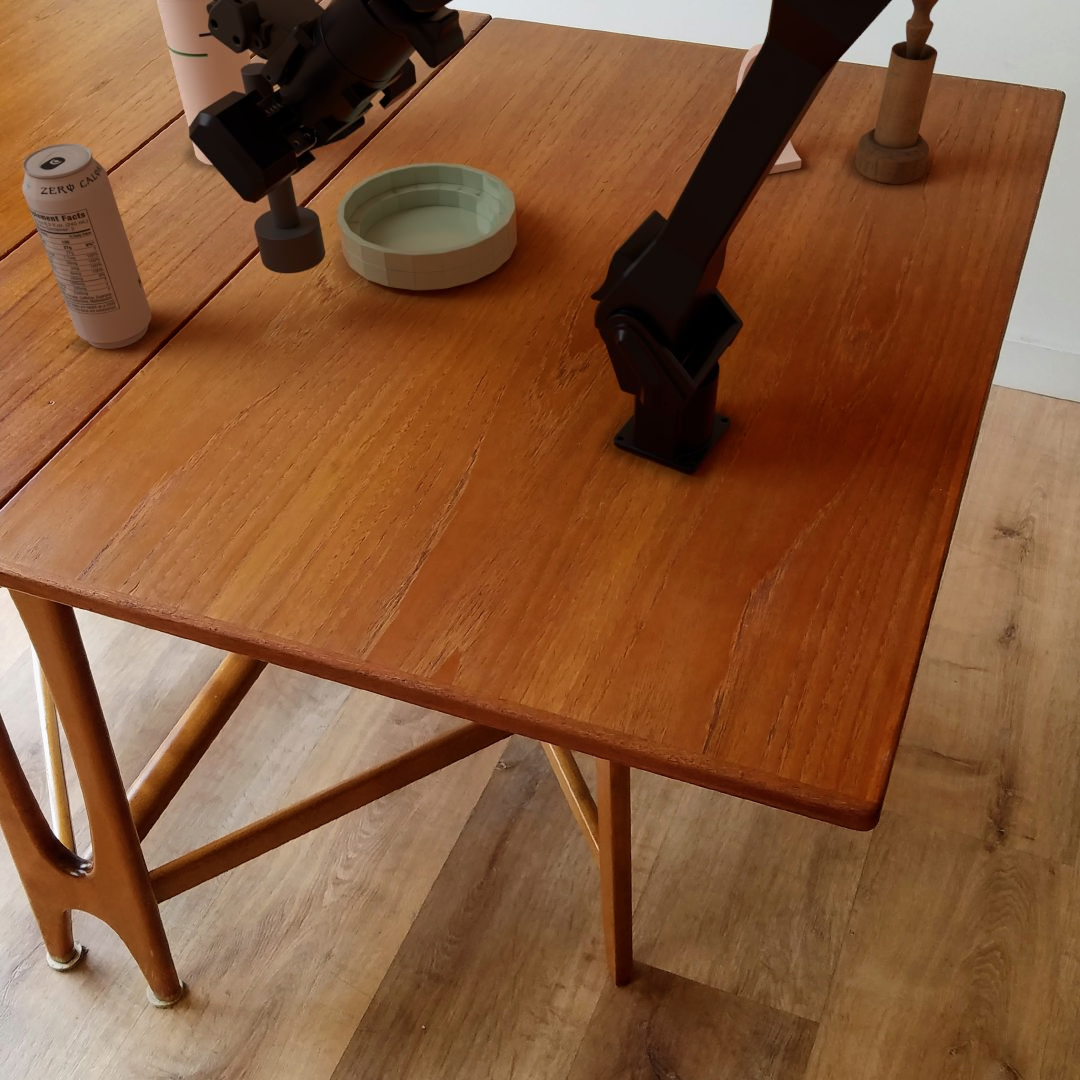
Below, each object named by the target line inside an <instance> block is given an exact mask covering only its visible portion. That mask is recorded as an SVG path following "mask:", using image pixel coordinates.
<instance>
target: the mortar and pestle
mask: <svg viewBox="0 0 1080 1080" xmlns="http://www.w3.org/2000/svg"><path fill="white" fill-rule="evenodd" d="M939 1H940V0H911V3H912V6H913V12H912V15H911V17H910V18H908V19H907V21H906V23H905V39H906V41H905V40H904V41H903V40H902V41H899V42H897V43H895V44H893V45H892V47H891V50H890V56H889V61H888V67H887V72H886V77H885V82H884V86H883V91H882V96H881V101H880V105H879V110H878V115H877V118H876V119H877V120H876V124H875V127H874V128H873V129H871V130H870V131H868V132H866V133H864V134H863V135H862V136H861V137H860V139H859V141H858V145H857V150H856V154H855V159H854V166H855V169H856V170H857V171H858V173H859V174H861V175H862V176H864V177H865V178H867V179H869V180H872V181H874V182H879V183H883V184H890V185H902V184H903V185H904V184H908V183H912V182H914V181H916V180H918V179H920V178H921V177H922V176H923V174H924V172H925V171H926V166H927V161H928V157H929V154H930V146H929V143H928V142H927V140H926V139H925V138H924V137H923V136H922V135H921V134H920V129H921V124H922V120H923V117H924V116H923V115H924V112H925V108H926V104H927V99H928V95H929V91H930V87H931V82H932V78H933V74H934V70H935V66H936V61H937V58H938V51H937V49H936V48H935V47H933V46H931V45H930V44H928V43H927V41H928V39H929V38H930V36H931V33H932V31H933V28H934V22H933V20H931V13H932V10H933V8H934V7H935V6H936V4H937V3H938V2H939Z"/></svg>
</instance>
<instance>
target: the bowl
mask: <svg viewBox="0 0 1080 1080" xmlns="http://www.w3.org/2000/svg"><path fill="white" fill-rule="evenodd" d="M516 208H517V207H516V198H515V193H514V192H513V190H511V188H510V186H508V185H507V183H506V182H505V181H504V180H503V179H501V178H499V177H497V176H496V175H494V174H493V173H491V172H489V171H487V170H483V169H480V168H476V167H473V166H469V165H467V164H459V163H448V162H425V163H424V162H423V163H411V164H410V163H409V164H406V165H402V166H398V167H393V168H388V169H385V170H382V171H380V172H377V173H375V174H373V175H370V176H368V177H366V178H364V179H362V180H361V181H359V182H358V183H357V184H355V185H354V186H352V187H351V188H349V189H348V190H347V191H346V193H345V194H344V196H343V197H342V199H340V201H339V203H338V205H337V215H336V221H337V228H338V234H339V239H340V244H341V246H340V247H341V251H342V252H341V253H342V255H343V257H344V258H345V260H346V262H347V264H348V266H349V268H351V269H352V270H353V271H354V272H356V273H357V274H359V275H360V276H361V277H362V278H363V279H365V280H367V281H370V282H373V283H376V284H378V285H382V286H385V287H388V288H395V289H401V290H402V289H403V290H411V291H428V290H429V291H431V290H445V289H449V288H454V287H458V286H461V285H467V284H470V283H472V282H473V283H474V282H476V281H478V280H479V279H481V278H484V277H486V276H488V275H490V274H492V273H494V272H496V271H497V270H498V269H499V268H500V267H501V266H502V265H503V264H505V263H506V262H507V261H508V260H509V259H510V258H511V257H512V254H513V253H514V251H515V249H516V246H517V244H518V230H517V211H516V210H517V209H516Z"/></svg>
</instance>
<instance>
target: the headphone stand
mask: <svg viewBox="0 0 1080 1080" xmlns="http://www.w3.org/2000/svg"><path fill="white" fill-rule="evenodd" d="M762 45H763V43H758V44H755V45H753V46H752V47H751V48H750V49H749V50H748V51H747V53H746V54H745V55H744V57H743V59H742V61H741V65H740V68H739V71H738V75H737V82H736V89H735V94H736V93H737V91H738V89H739V87H740V86H741V84H742V82H743V80H744V78H745V76H746V75H747V73H748V71H749V69H750V67H751V66H752V64H753V62H754V60H755V58H756V56H757V55H758V53H759V51H760V49H761V47H762ZM801 167H802V159H801V158H800V156H799V155H798V154H797V152H796V151H795V148H794V146H793V143H792V142H791V139H790V140H789V142H788V144H787V145H786V147H785V149H784V150H783V152H782V153H781V155H780V157H779V158H778V160H777V162H776V163H775V165H774V166H773V168H772V170H771V171H770V173H769V175H771V174H775V173H783V172H788V171H792V170H798V169H801Z"/></svg>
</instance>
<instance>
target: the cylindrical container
mask: <svg viewBox="0 0 1080 1080" xmlns="http://www.w3.org/2000/svg"><path fill="white" fill-rule="evenodd" d="M212 1H213V0H156V4H157V9H158V12H159V15H160V20H161V25H162V28H163V31H164V35H165V40H166V43H167V47H168V48H167V49H168V51H169V55H170V59H171V63H172V67H173V71H174V75H175V79H176V83H177V87H178V91H179V95H180V99H181V102H182V107H183V110H184V114H185V118H186V122H187V123H186V124H187V126H188V128H189V126H190V125H191V123H192V122H193V120H194V119H195V117H196V116H197V114H198V113H199V112H200V111H201V110H203V109H205V108H206V107H208V106H209V105H211V104H213V103H214V102H216V101H218V100H219V99H221V98H222V97H224V96H226V95H227V94H229V93H230V92H232V91H236V92H240V93H244V94H245V89H244V84H243V80H242V75H241V68H242V67H244V66H245V65H248V64H251V63H252V62H251V57H250V50H249V49H247V50H246V51H244V52H242V53H239V54H237V53H235V52H234V51H232V50H231V49H230V48H228V47H227V46H226V45H224V44H223V43H222V42H220V41H219V40H217V39H216V38H215V37H214V36H212V34H211V33H210V30H209V28H208V19H209V14H208V12H207V9H206V6H207V4H208V3H210V2H212ZM191 143H192V147H193V150H194V154H195V157H196V158H197V160H199V161H200V162H201V163H203V164H206V165H209V166H213V167H214V165H213V164H212V163H211V162H210V161H209V160H208V159H207V157H206V156H205V155H204V154H203V153H202V152H201V151H200V149H199V148H198V147H197V146H196V145H195V144H194V142H193V141H192V140H191Z"/></svg>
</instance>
